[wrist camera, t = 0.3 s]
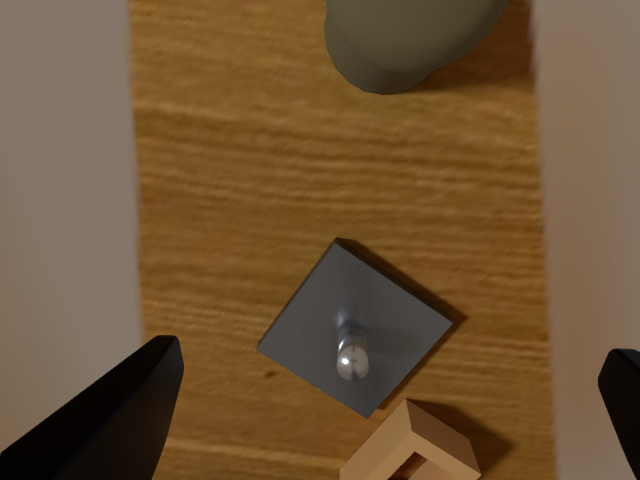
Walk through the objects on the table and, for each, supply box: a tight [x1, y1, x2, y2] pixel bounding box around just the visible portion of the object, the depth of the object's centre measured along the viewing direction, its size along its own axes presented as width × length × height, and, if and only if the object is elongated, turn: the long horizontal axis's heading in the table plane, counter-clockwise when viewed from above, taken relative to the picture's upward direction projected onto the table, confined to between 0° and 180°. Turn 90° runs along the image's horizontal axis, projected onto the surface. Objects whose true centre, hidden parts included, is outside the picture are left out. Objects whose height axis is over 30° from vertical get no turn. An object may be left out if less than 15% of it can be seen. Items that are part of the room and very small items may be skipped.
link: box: [340, 398, 481, 480], centre depth 27 cm, size 7×5×3 cm
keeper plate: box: [256, 238, 453, 418], centre depth 24 cm, size 8×8×4 cm
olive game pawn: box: [324, 0, 509, 95], centre depth 15 cm, size 6×6×11 cm
